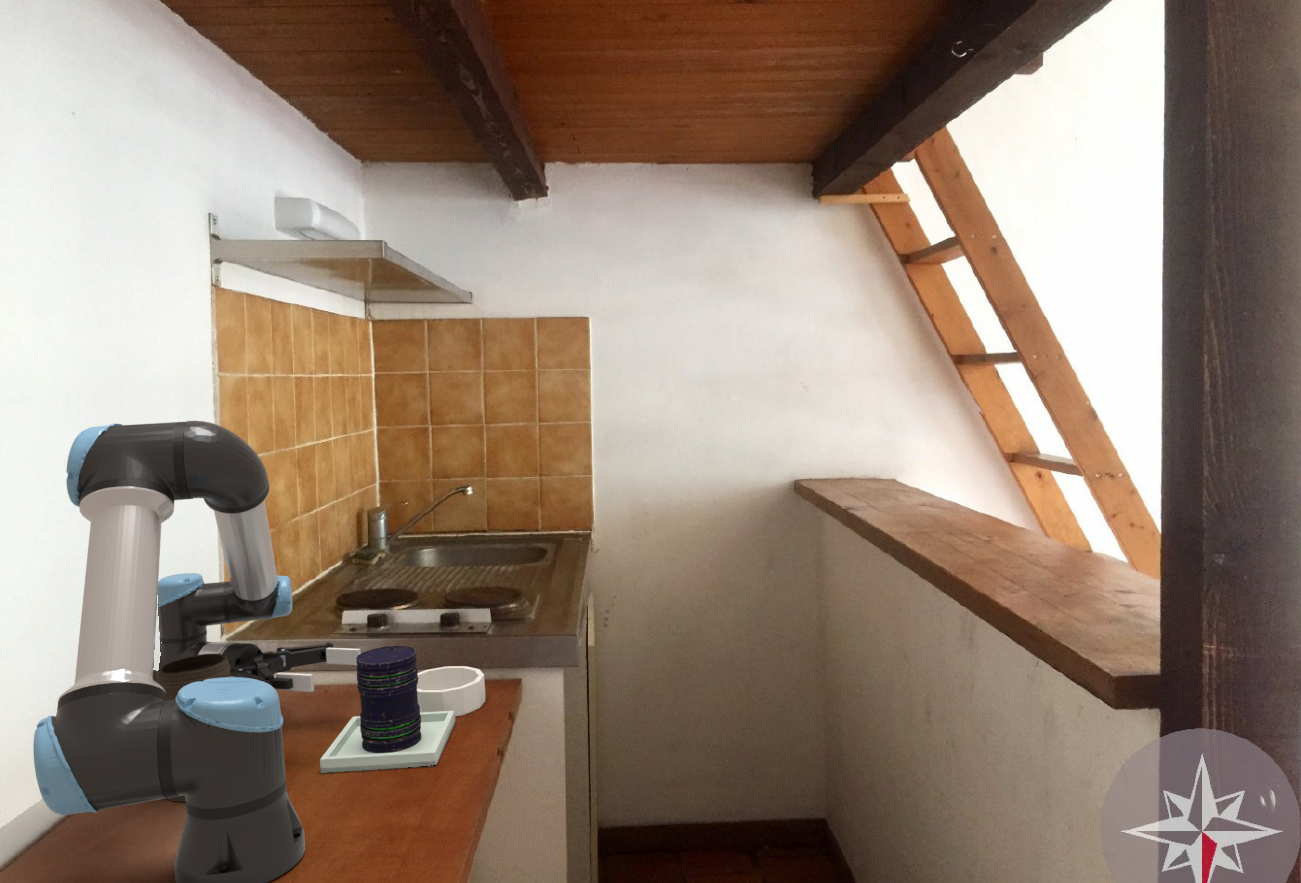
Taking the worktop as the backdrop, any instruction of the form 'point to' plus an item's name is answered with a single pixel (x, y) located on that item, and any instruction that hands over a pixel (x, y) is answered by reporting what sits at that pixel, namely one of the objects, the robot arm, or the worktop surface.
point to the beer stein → (189, 677)
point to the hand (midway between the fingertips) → (337, 669)
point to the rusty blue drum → (388, 699)
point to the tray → (425, 753)
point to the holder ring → (451, 689)
